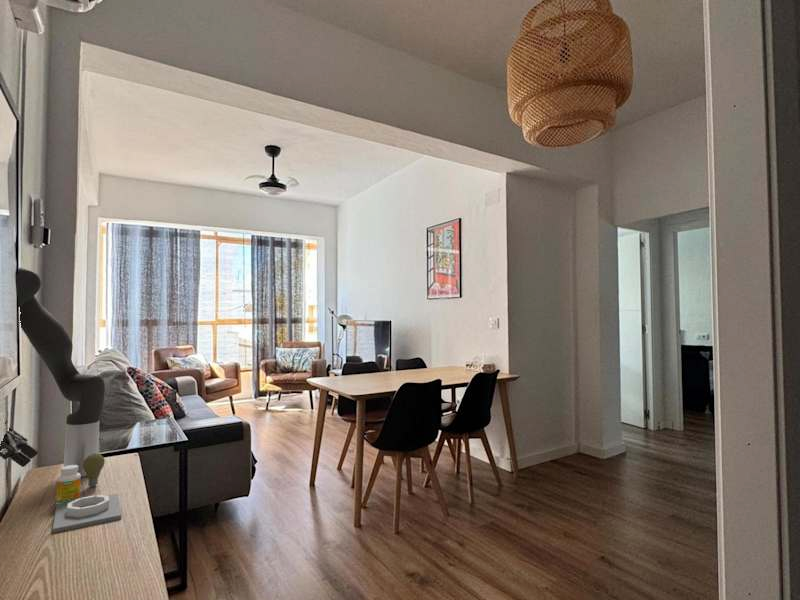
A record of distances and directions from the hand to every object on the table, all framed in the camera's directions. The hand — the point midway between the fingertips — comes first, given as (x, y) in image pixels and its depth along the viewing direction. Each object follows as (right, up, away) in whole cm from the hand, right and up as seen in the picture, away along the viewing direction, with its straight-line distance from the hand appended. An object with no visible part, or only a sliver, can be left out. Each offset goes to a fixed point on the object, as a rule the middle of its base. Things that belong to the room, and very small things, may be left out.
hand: (31, 459), depth 120 cm
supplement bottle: (+7, -13, +3) cm, 16 cm away
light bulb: (+6, -14, +15) cm, 22 cm away
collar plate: (+19, -13, -4) cm, 23 cm away
